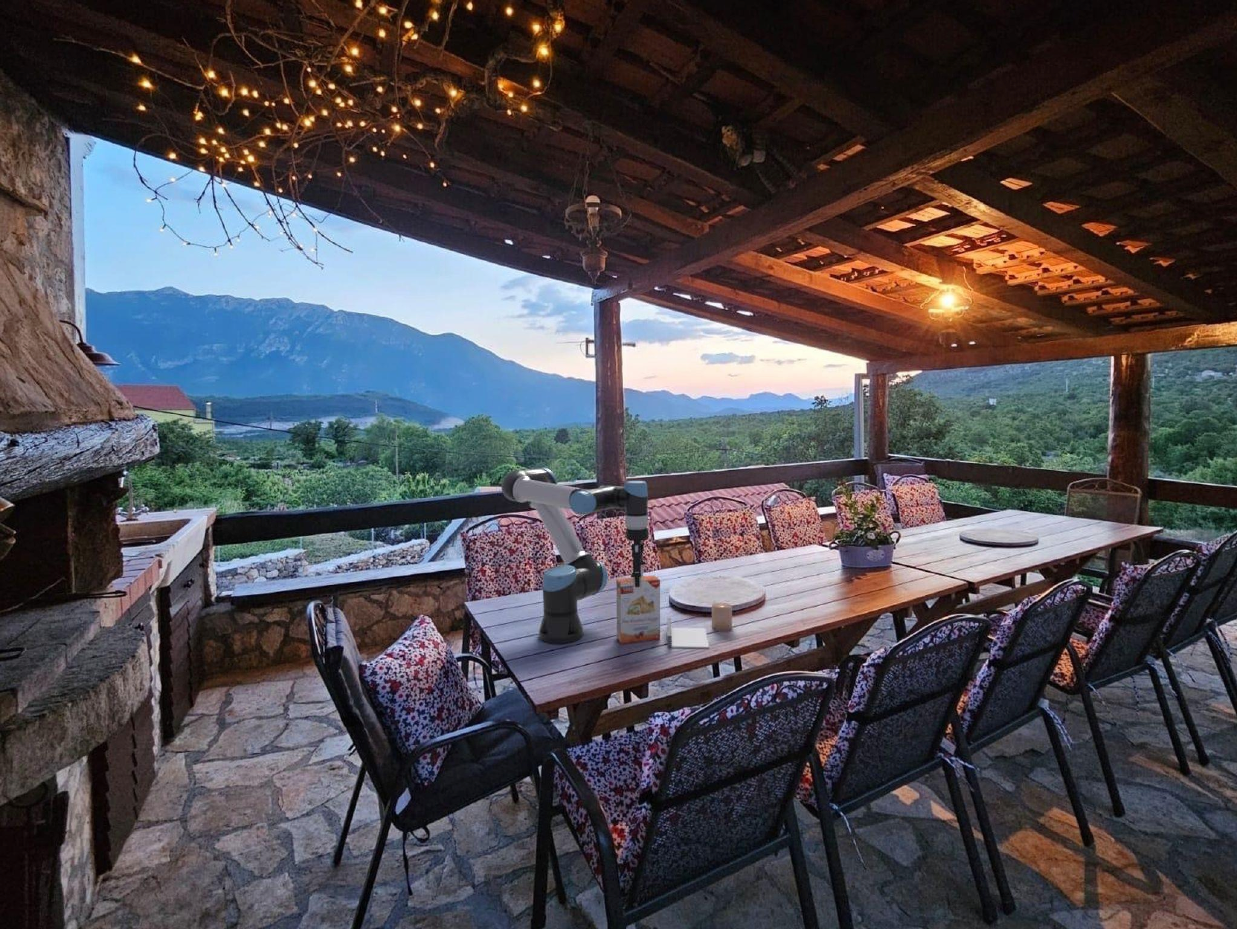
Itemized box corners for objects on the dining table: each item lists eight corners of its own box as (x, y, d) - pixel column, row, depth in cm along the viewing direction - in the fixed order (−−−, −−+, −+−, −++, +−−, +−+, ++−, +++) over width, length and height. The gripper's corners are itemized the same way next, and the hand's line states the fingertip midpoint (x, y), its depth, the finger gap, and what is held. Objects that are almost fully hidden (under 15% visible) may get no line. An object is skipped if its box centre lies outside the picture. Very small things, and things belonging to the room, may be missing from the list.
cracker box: (621, 644, 182) (620, 582, 181) (616, 638, 188) (615, 578, 186) (661, 639, 186) (660, 579, 184) (655, 633, 192) (654, 574, 190)
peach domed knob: (712, 631, 192) (712, 609, 192) (711, 624, 199) (710, 602, 199) (733, 631, 192) (733, 609, 191) (730, 624, 199) (730, 602, 198)
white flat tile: (667, 647, 179) (667, 635, 179) (667, 629, 195) (667, 618, 195) (708, 648, 178) (708, 636, 178) (705, 629, 194) (705, 618, 194)
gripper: (647, 534, 171) (648, 601, 173) (649, 520, 196) (650, 579, 197) (623, 535, 172) (624, 601, 173) (628, 521, 197) (629, 579, 198)
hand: (638, 589), depth 185 cm, fingers open, 13 cm apart
